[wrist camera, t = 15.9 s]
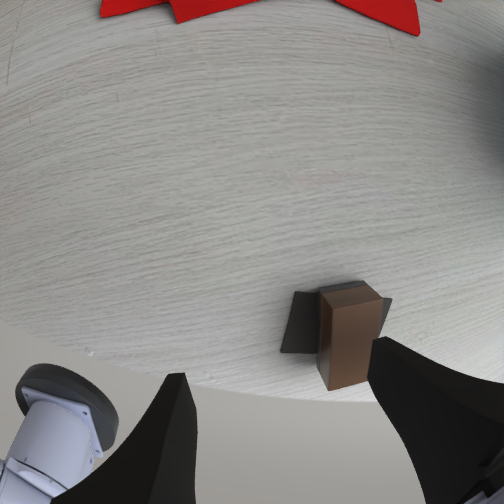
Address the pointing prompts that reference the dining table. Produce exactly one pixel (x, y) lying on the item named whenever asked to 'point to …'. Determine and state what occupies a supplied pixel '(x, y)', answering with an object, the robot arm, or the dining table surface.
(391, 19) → the cloth
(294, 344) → the dark grey flat slab
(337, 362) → the eraser
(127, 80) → the dining table surface
